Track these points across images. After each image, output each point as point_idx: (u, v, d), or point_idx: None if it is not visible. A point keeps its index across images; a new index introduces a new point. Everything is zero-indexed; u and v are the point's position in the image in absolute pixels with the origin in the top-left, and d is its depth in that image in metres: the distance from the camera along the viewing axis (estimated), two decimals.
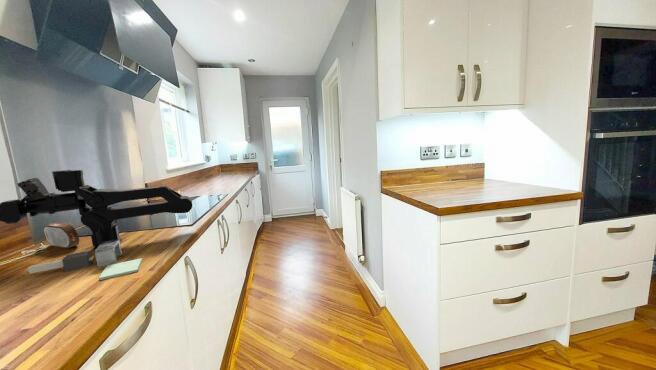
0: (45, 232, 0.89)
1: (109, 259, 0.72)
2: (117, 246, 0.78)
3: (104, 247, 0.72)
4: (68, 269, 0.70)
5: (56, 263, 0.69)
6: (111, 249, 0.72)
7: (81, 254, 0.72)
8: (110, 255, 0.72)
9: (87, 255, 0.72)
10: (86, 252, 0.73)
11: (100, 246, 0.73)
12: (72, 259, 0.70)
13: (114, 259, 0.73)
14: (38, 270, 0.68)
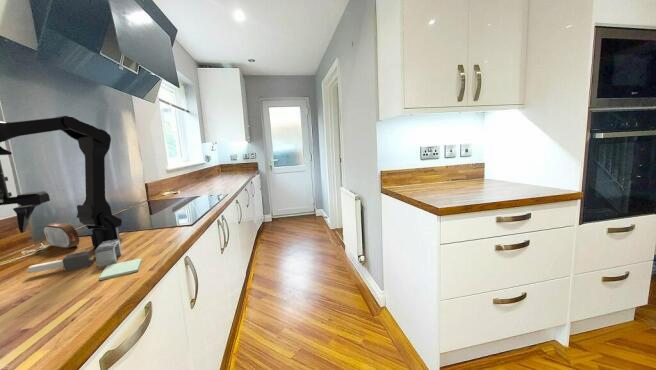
0: (45, 232, 0.89)
1: (109, 259, 0.72)
2: (117, 246, 0.78)
3: (104, 247, 0.72)
4: (68, 269, 0.70)
5: (56, 263, 0.69)
6: (111, 249, 0.72)
7: (81, 254, 0.72)
8: (110, 255, 0.72)
9: (87, 255, 0.72)
10: (86, 252, 0.73)
11: (100, 246, 0.73)
12: (73, 259, 0.70)
13: (114, 259, 0.73)
14: (38, 270, 0.68)
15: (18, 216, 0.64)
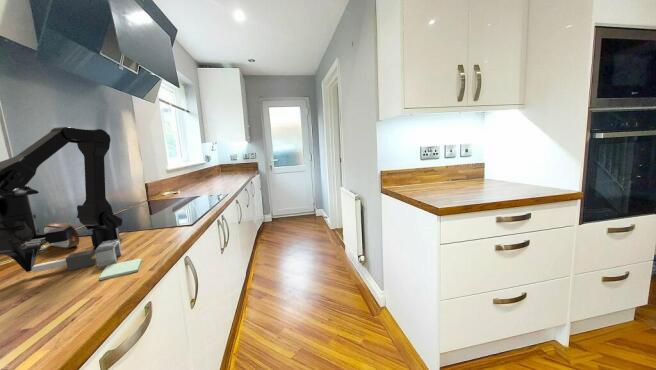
0: (45, 232, 0.89)
1: (109, 259, 0.72)
2: (117, 246, 0.78)
3: (104, 247, 0.72)
4: (72, 268, 0.70)
5: (60, 262, 0.70)
6: (111, 249, 0.72)
7: (84, 253, 0.72)
8: (110, 255, 0.72)
9: (90, 254, 0.72)
10: (89, 251, 0.73)
11: (100, 246, 0.73)
12: (76, 258, 0.70)
13: (114, 259, 0.73)
14: (42, 269, 0.68)
15: (26, 256, 0.66)
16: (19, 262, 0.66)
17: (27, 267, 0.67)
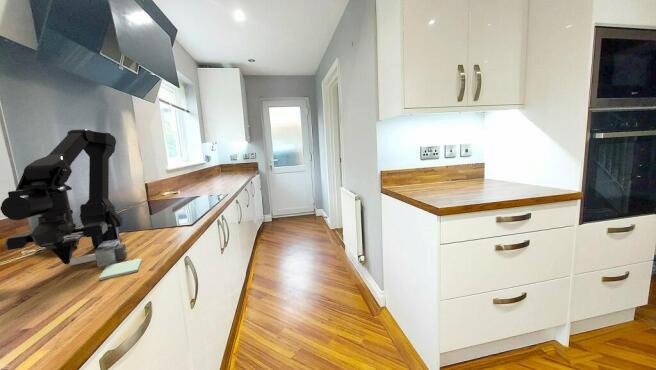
0: None
1: (109, 259, 0.72)
2: None
3: (104, 247, 0.72)
4: None
5: (95, 255, 0.73)
6: (111, 249, 0.72)
7: (117, 247, 0.75)
8: (110, 255, 0.72)
9: (123, 248, 0.76)
10: (121, 245, 0.77)
11: (100, 246, 0.73)
12: None
13: (114, 259, 0.73)
14: (79, 262, 0.71)
15: (65, 249, 0.69)
16: (58, 255, 0.69)
17: (65, 260, 0.70)
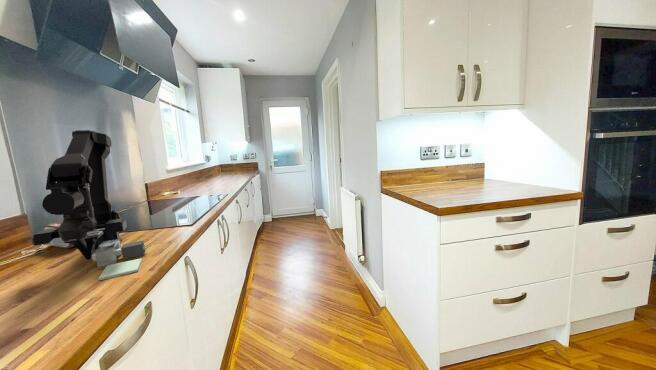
0: None
1: (109, 259, 0.72)
2: (117, 246, 0.78)
3: (104, 247, 0.72)
4: (126, 257, 0.76)
5: (115, 251, 0.75)
6: (111, 249, 0.72)
7: (136, 243, 0.78)
8: (110, 255, 0.72)
9: (142, 244, 0.78)
10: (140, 242, 0.79)
11: (100, 246, 0.73)
12: (130, 248, 0.76)
13: (114, 259, 0.73)
14: None
15: (87, 245, 0.72)
16: (81, 250, 0.71)
17: (88, 255, 0.72)
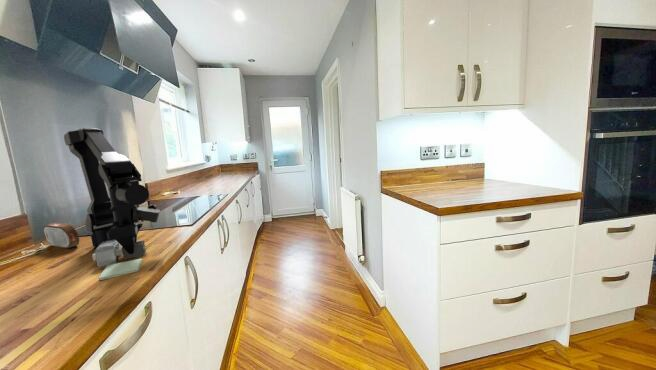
0: (45, 232, 0.89)
1: (109, 259, 0.72)
2: (117, 246, 0.78)
3: (104, 247, 0.72)
4: (126, 257, 0.76)
5: (116, 251, 0.75)
6: (111, 249, 0.72)
7: (137, 243, 0.78)
8: (110, 255, 0.72)
9: (142, 244, 0.78)
10: (141, 242, 0.79)
11: (100, 246, 0.73)
12: None
13: (114, 259, 0.73)
14: None
15: (137, 233, 0.80)
16: (133, 243, 0.76)
17: None
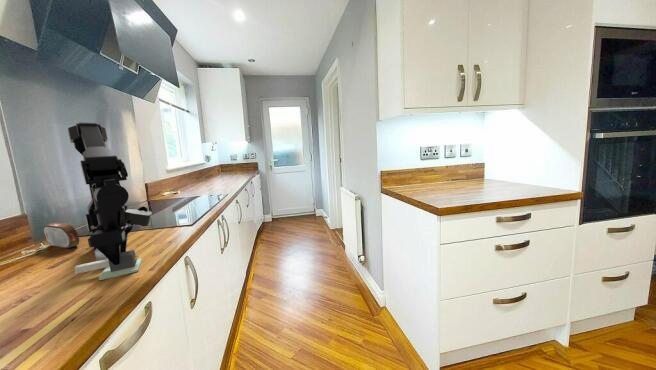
0: (45, 232, 0.89)
1: None
2: None
3: None
4: (114, 269, 0.67)
5: (102, 263, 0.66)
6: None
7: (126, 254, 0.69)
8: None
9: (132, 254, 0.69)
10: (131, 251, 0.70)
11: None
12: None
13: None
14: (84, 270, 0.65)
15: (126, 237, 0.72)
16: (119, 252, 0.65)
17: None
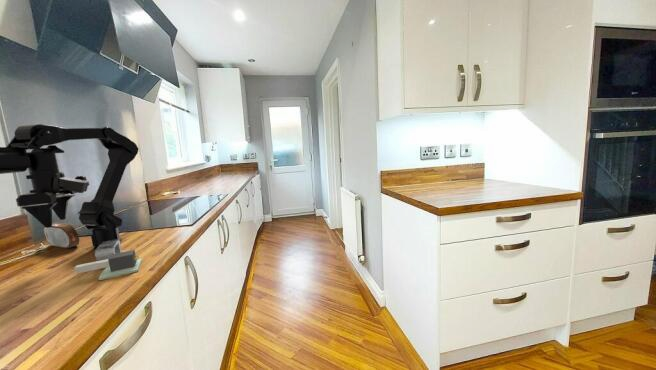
0: (45, 232, 0.89)
1: None
2: (117, 246, 0.78)
3: (104, 247, 0.72)
4: (114, 269, 0.67)
5: (102, 263, 0.66)
6: (111, 249, 0.72)
7: (126, 254, 0.69)
8: (110, 255, 0.72)
9: (132, 254, 0.69)
10: (131, 251, 0.70)
11: (100, 246, 0.73)
12: (118, 259, 0.67)
13: None
14: (84, 270, 0.65)
15: (66, 204, 0.78)
16: (51, 216, 0.69)
17: None
